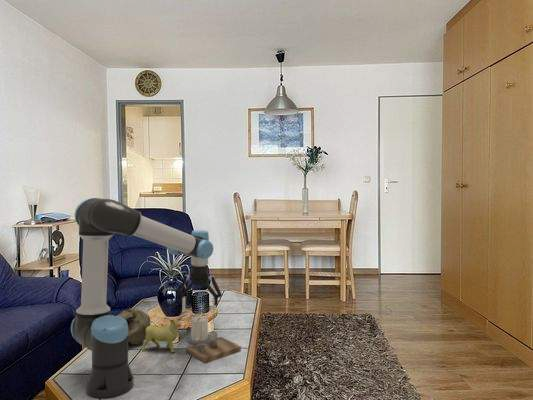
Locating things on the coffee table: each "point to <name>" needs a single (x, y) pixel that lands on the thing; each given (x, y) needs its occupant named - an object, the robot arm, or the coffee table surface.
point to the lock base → (213, 349)
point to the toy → (162, 334)
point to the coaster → (198, 341)
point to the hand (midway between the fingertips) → (198, 312)
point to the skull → (136, 324)
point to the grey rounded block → (199, 328)
